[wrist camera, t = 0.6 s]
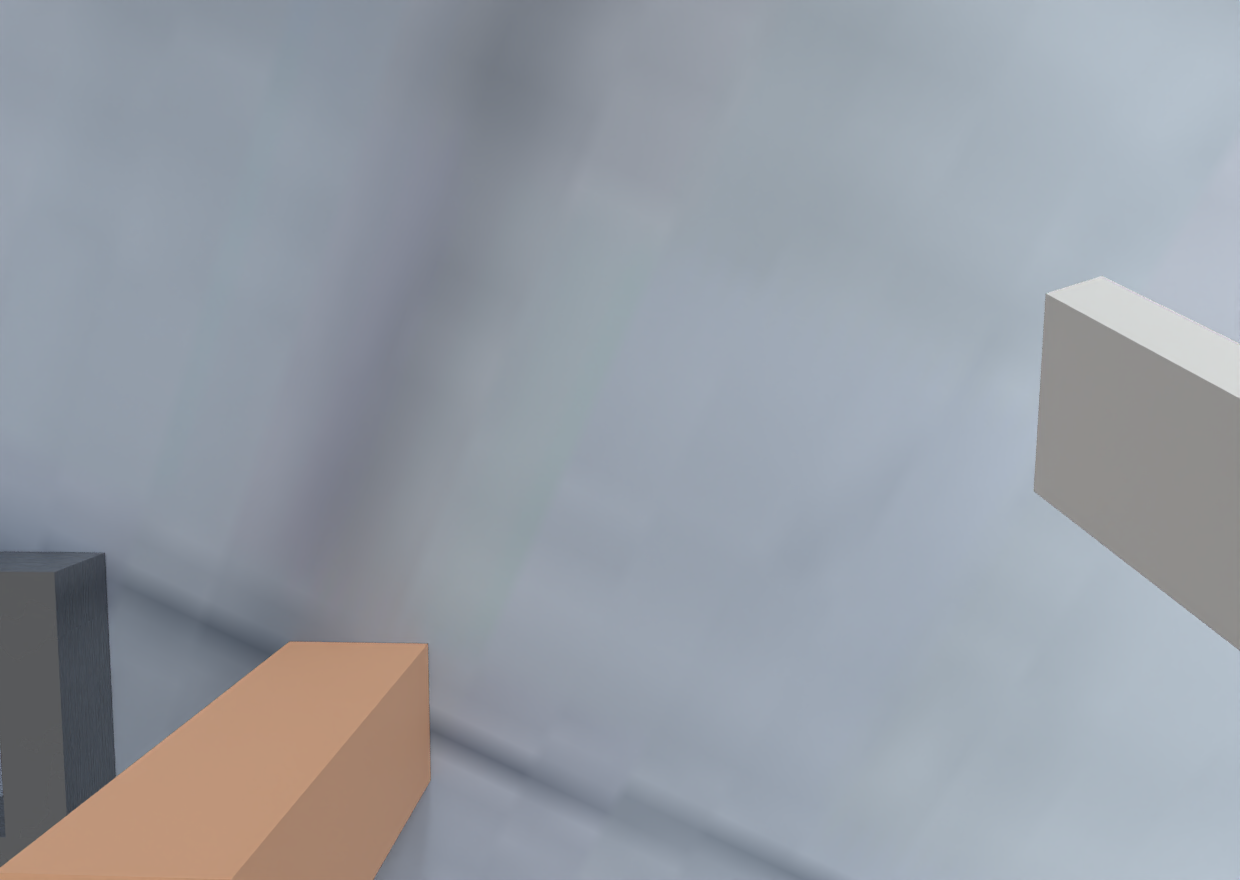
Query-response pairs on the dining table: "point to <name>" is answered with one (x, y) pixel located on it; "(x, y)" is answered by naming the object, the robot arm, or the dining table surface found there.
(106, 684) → the rail
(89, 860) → the post
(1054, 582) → the dining table surface
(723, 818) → the dining table surface
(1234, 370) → the robot arm
